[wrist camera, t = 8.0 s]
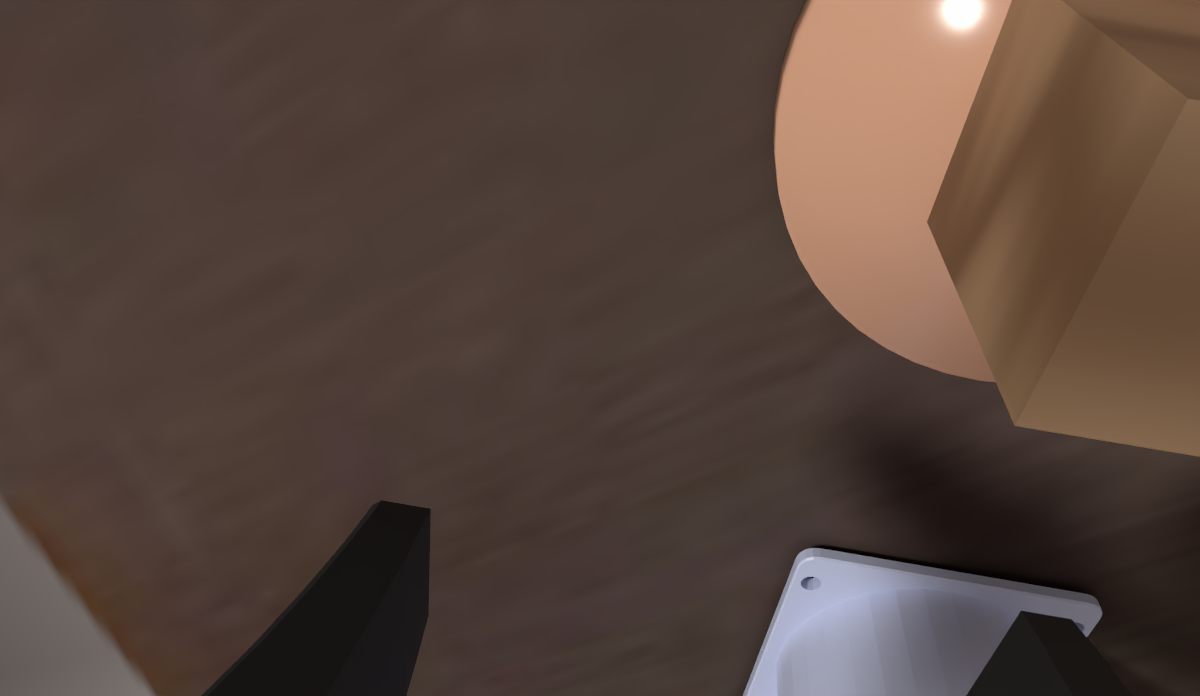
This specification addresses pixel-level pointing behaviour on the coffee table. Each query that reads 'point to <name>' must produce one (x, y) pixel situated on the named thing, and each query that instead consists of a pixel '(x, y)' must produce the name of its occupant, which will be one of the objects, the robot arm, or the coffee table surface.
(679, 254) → the coffee table surface
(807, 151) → the peach flat disc
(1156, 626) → the coffee table surface
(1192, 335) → the block
